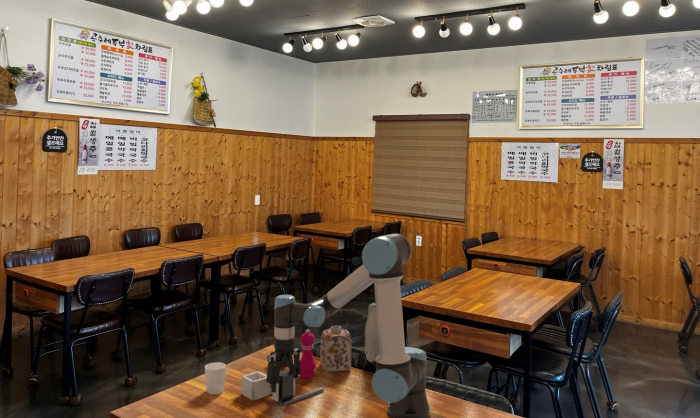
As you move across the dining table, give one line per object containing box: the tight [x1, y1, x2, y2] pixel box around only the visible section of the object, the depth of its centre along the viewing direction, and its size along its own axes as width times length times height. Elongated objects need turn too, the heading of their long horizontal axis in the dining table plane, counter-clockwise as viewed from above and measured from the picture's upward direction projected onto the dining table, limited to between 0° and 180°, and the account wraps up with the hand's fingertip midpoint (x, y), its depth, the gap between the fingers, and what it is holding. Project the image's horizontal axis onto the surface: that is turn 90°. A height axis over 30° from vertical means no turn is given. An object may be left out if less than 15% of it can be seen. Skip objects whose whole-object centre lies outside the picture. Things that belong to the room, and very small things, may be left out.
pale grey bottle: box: [364, 302, 380, 362], centre depth 232 cm, size 10×10×28 cm
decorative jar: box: [319, 325, 352, 373], centre depth 229 cm, size 12×12×18 cm
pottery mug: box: [269, 351, 294, 370], centre depth 229 cm, size 12×10×8 cm
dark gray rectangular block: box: [261, 369, 294, 403], centre depth 199 cm, size 16×5×10 cm, turn 44°
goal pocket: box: [240, 370, 271, 402], centre depth 200 cm, size 8×8×7 cm
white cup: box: [204, 361, 227, 395], centre depth 202 cm, size 8×8×10 cm
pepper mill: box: [299, 329, 317, 380], centre depth 218 cm, size 7×7×20 cm
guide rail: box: [279, 387, 325, 408], centre depth 197 cm, size 1×20×1 cm, turn 134°
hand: (283, 397), depth 196 cm, fingers open, 7 cm apart
